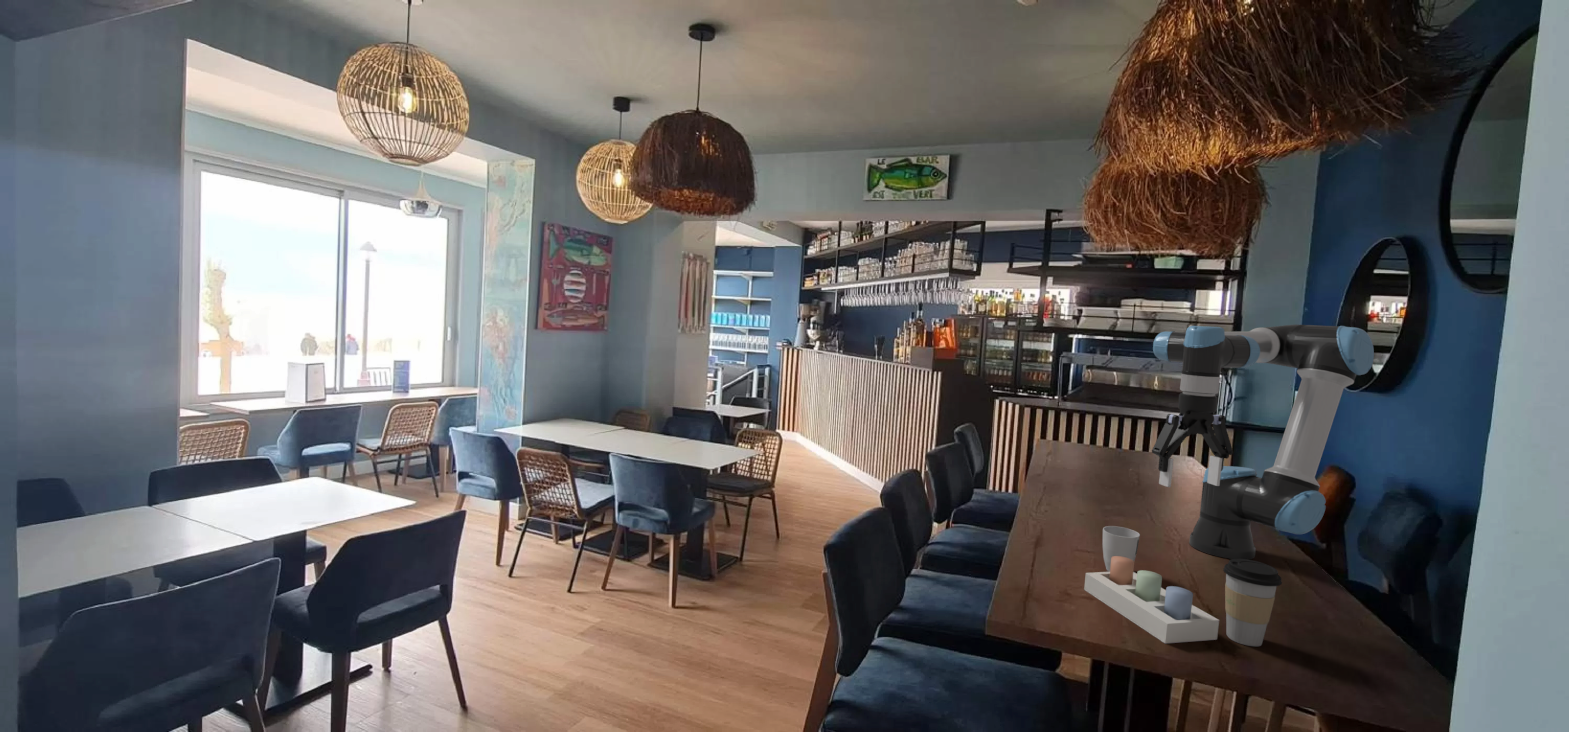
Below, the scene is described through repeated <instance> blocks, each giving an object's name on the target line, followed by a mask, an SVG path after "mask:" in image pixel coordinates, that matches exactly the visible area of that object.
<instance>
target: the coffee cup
mask: <svg viewBox="0 0 1569 732" xmlns="http://www.w3.org/2000/svg"><path fill="white" fill-rule="evenodd" d="M1222 571H1223V572H1224V573H1225V583H1224V586H1225V587H1224V589H1225V590H1224V594H1225V595H1224V597H1225V601H1224V603H1225V605H1224V606H1225V609H1224V610H1225V613H1226V614H1225V615H1226V617H1225V619H1226V620H1225V621H1226V622H1225V623H1226V627H1225V628H1226V632H1225V633H1226V636H1227V638H1229V639H1230V640H1231V641H1233V642H1235V643H1237V644H1240V645H1243V646H1244V645H1245V646H1248V647H1261V646H1262V645H1263V641H1264V638H1265V634H1266V629H1267V626H1268V624H1269V623H1270V619H1271V615H1272V614H1271V613H1272V611H1273V607H1274V603H1275V599H1276V590H1277V588H1278V587H1279V586H1281V585H1282V583H1283V581H1282V580H1283V579H1282V577H1281V576H1280V575H1279V571H1278V569H1276V568H1275V567H1274V566H1272V565H1269V564H1266V563H1264V562H1261V561H1257V560H1254V559H1253V560H1252V559H1229V560H1228V563H1226V564H1225V565H1224V567H1223V570H1222Z"/></svg>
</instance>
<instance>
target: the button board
mask: <svg viewBox="0 0 1569 732" xmlns="http://www.w3.org/2000/svg"><path fill="white" fill-rule="evenodd" d="M1109 577H1110V572H1109V571H1099V572H1098V571H1097V572H1095V571H1094V572H1085V577H1084V586H1083V587H1084V588H1083V590H1084V591H1086V593H1088V594H1090V595H1091V596H1093V597H1094V598H1096V599H1097V600H1099V601H1101V602H1102V603H1104V604H1105V605H1106V606H1108V607H1109V608H1111V609H1113V610H1114V611H1115V612H1117V613H1119V614H1120V615H1122V616H1123V617H1125V618H1126V619H1128V620H1129V621H1131V622H1132V623H1134V624H1135V625H1137V626H1138V627H1140V628H1141V629H1142V630H1144V631H1145V632H1147V633H1149V634H1150V635H1151V636H1153V637H1155V638H1156V639H1158V640H1159V641H1160V642H1162V643H1164V644H1175V643H1188V642H1202V641H1204V642H1205V641H1214V640H1215V641H1216V640H1218V635H1219V627H1220V626H1219V624H1220V619H1218V618H1216V617H1215V616H1213V615H1211V614H1209V613H1207V612H1206V611H1204V610H1202V609H1200V608H1199V607H1197V606H1195V605H1193V604H1192V608H1191V617H1190V619H1189V620H1176V619H1173V618H1172V617H1170V616H1168V615H1167V614H1165V613H1164V605H1165V596H1166V589H1164V588H1163V587H1161V592H1160V601H1152V602H1147V601H1144V600H1142V599H1140V598H1139V597H1137V596H1135V590H1136V580H1137V573H1136V572H1135V571H1133V581H1132V585H1118V584H1116V583H1114V582H1112V581H1111V580H1109Z"/></svg>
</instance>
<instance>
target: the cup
mask: <svg viewBox="0 0 1569 732" xmlns="http://www.w3.org/2000/svg"><path fill="white" fill-rule="evenodd" d="M1140 536H1141V534H1140V533H1139V532H1138V531H1136V530H1133V529H1130V528H1128V527H1124V526H1116V525H1108V526H1107V525H1106V526H1104V527H1103V528H1102V554H1103V555H1102V556H1103V562H1104V565H1105V569H1106V572H1110V567H1111V557H1113V556H1121V557H1126V558H1129V559H1131V560H1133V561H1134V562H1135V560H1136V556H1137V554H1138V549H1139V541H1140Z"/></svg>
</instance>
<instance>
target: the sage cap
mask: <svg viewBox="0 0 1569 732" xmlns="http://www.w3.org/2000/svg"><path fill="white" fill-rule="evenodd" d="M1136 574H1137V580H1136V590H1135V596H1137V597H1139V598H1140V599H1142V600H1144V601H1147V602H1152V601H1160V592H1161V588H1162V583H1163V582H1162V581H1163V576H1162V575H1161V574H1159V573H1157V572H1154V571H1151V570H1145V569H1144V570H1142V569H1140V570H1138V571H1137V573H1136Z"/></svg>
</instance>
